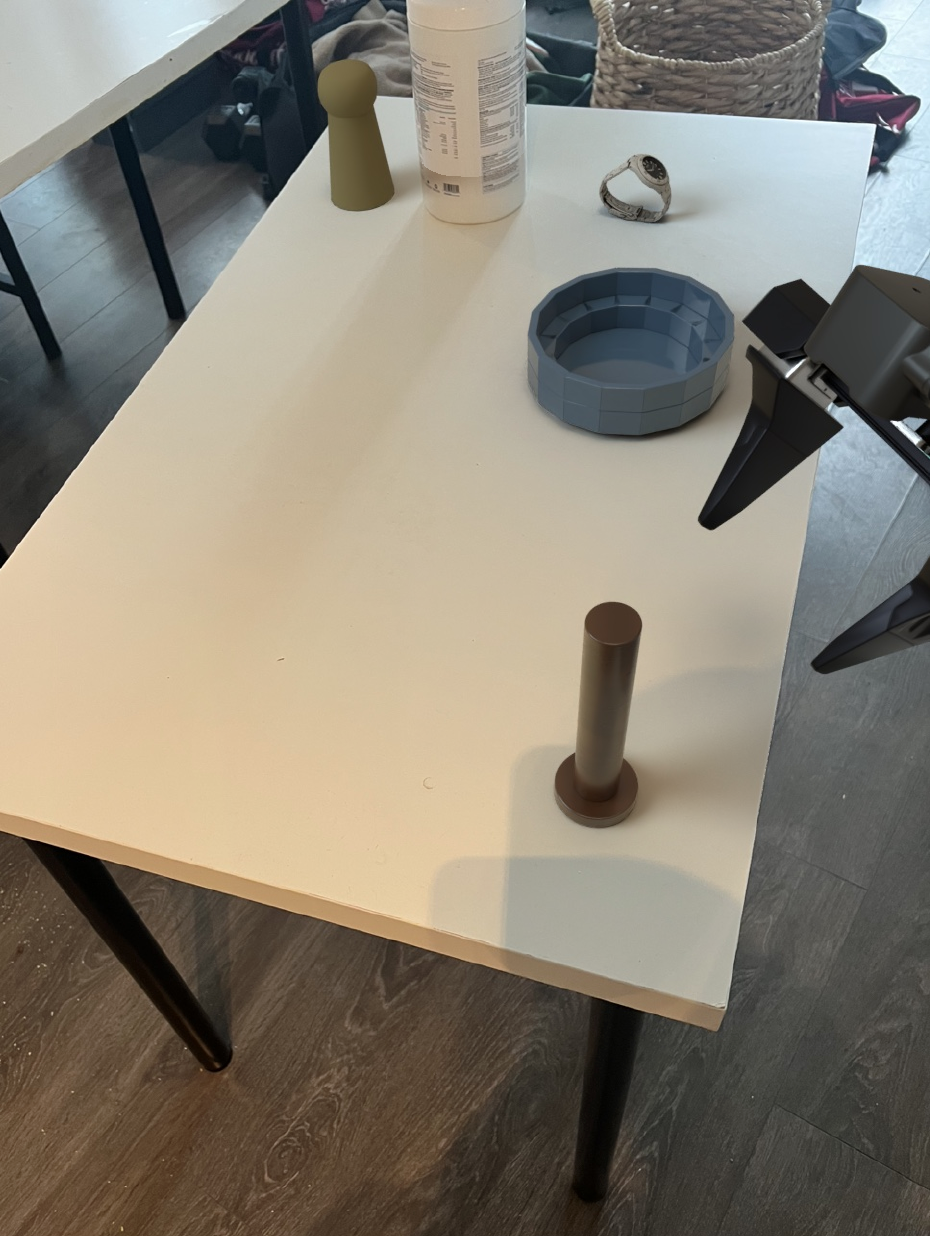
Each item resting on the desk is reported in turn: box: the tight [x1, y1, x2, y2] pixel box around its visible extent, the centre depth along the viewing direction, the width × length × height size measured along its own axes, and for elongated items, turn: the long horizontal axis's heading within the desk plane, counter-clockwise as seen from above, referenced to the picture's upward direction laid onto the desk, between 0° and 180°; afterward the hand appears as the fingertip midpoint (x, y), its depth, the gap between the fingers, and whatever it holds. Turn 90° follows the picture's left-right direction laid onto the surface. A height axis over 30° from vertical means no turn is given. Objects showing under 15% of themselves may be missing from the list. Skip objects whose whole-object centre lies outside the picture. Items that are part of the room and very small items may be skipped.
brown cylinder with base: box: [553, 601, 643, 829], centre depth 47 cm, size 4×4×14 cm
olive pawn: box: [317, 58, 395, 212], centre depth 87 cm, size 6×6×11 cm
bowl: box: [527, 267, 735, 436], centre depth 71 cm, size 14×14×4 cm
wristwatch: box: [598, 153, 672, 224], centre depth 83 cm, size 4×6×5 cm, turn 64°
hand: (756, 593), depth 43 cm, fingers open, 9 cm apart
